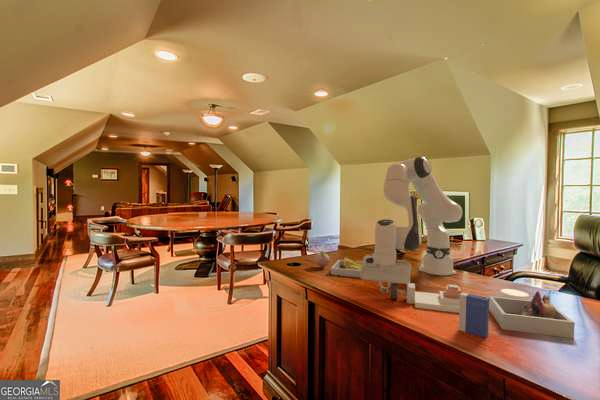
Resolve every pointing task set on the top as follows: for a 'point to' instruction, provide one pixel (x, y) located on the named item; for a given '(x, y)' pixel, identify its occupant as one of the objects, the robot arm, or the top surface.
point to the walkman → (474, 314)
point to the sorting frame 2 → (529, 318)
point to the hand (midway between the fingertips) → (384, 291)
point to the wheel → (396, 291)
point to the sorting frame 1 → (344, 270)
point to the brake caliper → (540, 307)
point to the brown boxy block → (452, 291)
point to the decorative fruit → (322, 259)
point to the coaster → (514, 294)
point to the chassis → (431, 300)
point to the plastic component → (352, 264)
